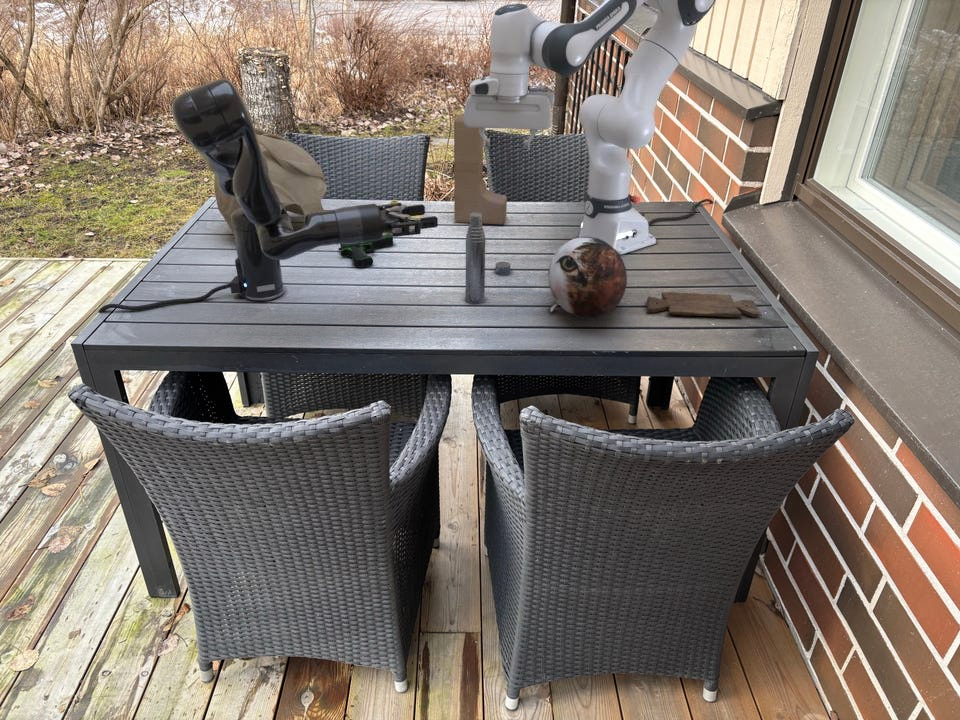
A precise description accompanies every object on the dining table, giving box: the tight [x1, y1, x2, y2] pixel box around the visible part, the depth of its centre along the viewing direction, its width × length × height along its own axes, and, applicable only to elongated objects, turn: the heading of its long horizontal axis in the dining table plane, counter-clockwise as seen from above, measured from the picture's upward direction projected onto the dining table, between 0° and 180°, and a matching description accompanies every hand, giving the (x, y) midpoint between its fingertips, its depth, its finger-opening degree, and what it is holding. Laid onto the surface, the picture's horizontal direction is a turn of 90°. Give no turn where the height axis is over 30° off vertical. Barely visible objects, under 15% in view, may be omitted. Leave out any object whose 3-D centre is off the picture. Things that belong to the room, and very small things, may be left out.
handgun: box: [338, 233, 394, 268], centre depth 191 cm, size 16×3×15 cm
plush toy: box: [547, 236, 628, 319], centre depth 161 cm, size 22×18×20 cm
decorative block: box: [453, 113, 508, 226], centre depth 209 cm, size 8×15×30 cm, turn 82°
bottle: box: [465, 212, 486, 305], centre depth 164 cm, size 4×4×21 cm
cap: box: [494, 261, 511, 276], centre depth 183 cm, size 4×4×2 cm
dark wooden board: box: [646, 291, 762, 318], centre depth 167 cm, size 26×2×10 cm
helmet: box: [213, 126, 328, 235], centre depth 198 cm, size 27×30×30 cm
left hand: (430, 215), depth 154 cm, fingers open, 8 cm apart
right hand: (506, 147), depth 167 cm, fingers open, 8 cm apart
